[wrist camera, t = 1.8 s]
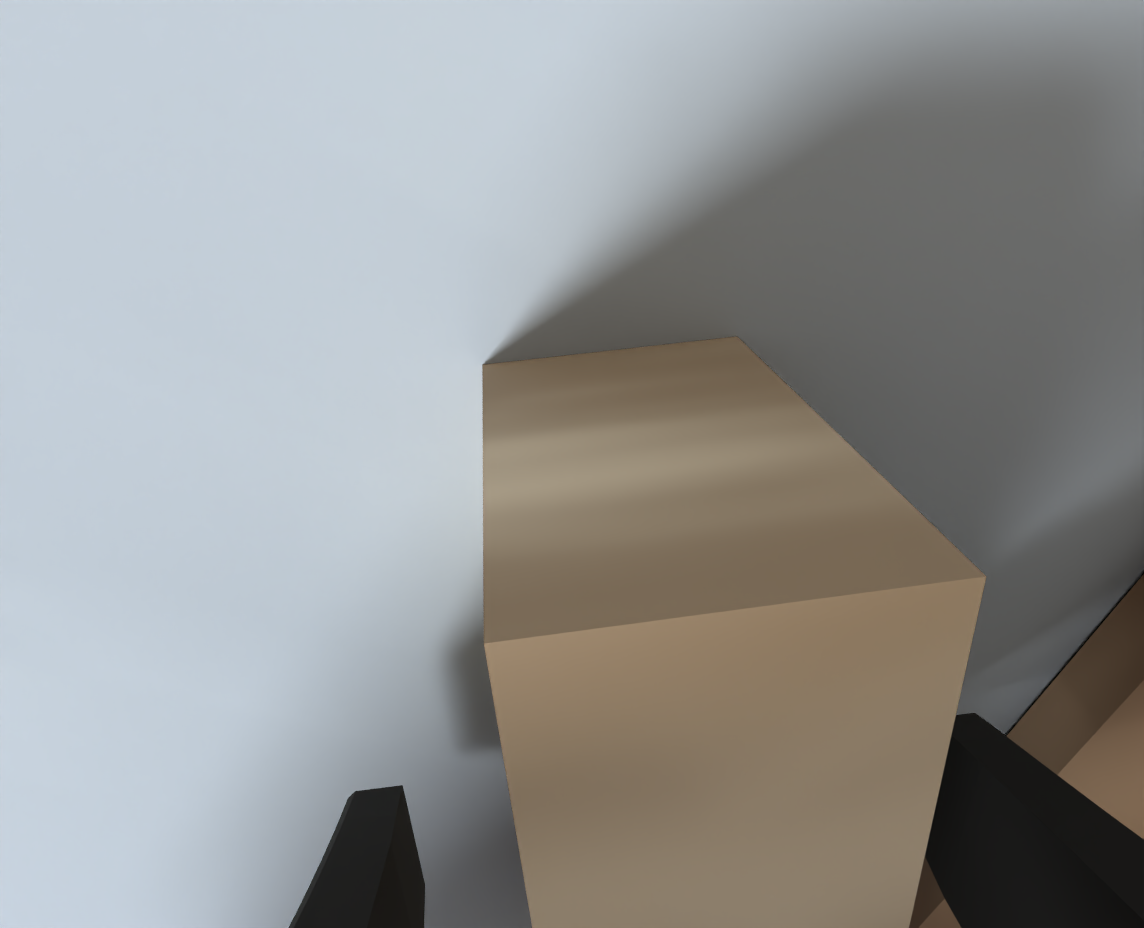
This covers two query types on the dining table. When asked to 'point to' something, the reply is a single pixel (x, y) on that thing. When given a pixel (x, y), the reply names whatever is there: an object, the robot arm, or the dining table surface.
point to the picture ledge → (1082, 733)
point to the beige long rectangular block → (710, 647)
